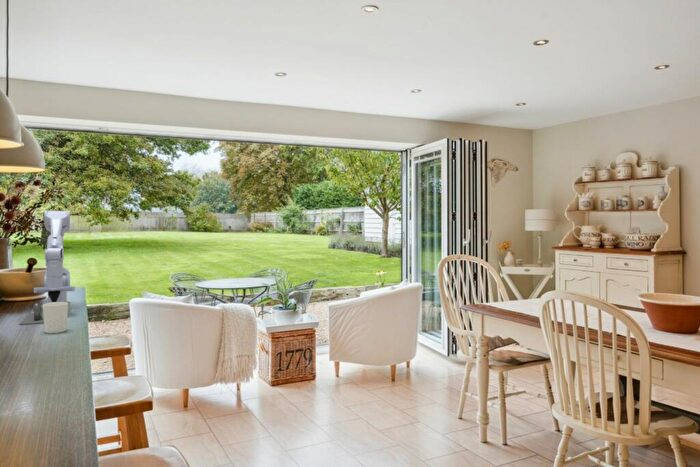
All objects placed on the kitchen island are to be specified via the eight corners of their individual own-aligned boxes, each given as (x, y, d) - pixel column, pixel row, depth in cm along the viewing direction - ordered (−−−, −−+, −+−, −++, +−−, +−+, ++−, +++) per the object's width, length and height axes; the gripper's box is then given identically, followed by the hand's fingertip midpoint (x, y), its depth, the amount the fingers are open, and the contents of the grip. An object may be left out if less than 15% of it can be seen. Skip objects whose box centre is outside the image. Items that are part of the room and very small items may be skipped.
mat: (30, 314, 211) (30, 313, 211) (68, 312, 217) (68, 311, 217) (19, 325, 191) (19, 323, 191) (61, 322, 197) (61, 321, 197)
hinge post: (34, 321, 198) (34, 303, 198) (40, 320, 199) (40, 303, 199) (33, 322, 196) (33, 304, 196) (39, 321, 197) (39, 304, 197)
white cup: (72, 329, 185) (72, 302, 185) (58, 334, 178) (58, 306, 177) (53, 328, 186) (52, 301, 186) (37, 333, 178) (37, 305, 178)
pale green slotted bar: (67, 312, 212) (67, 301, 212) (70, 312, 212) (70, 301, 211) (39, 318, 199) (38, 306, 199) (41, 318, 199) (41, 307, 199)
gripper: (32, 278, 201) (32, 312, 201) (73, 277, 206) (73, 309, 207) (35, 276, 207) (35, 309, 208) (75, 275, 213) (75, 307, 213)
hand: (54, 309), depth 208 cm, fingers closed
